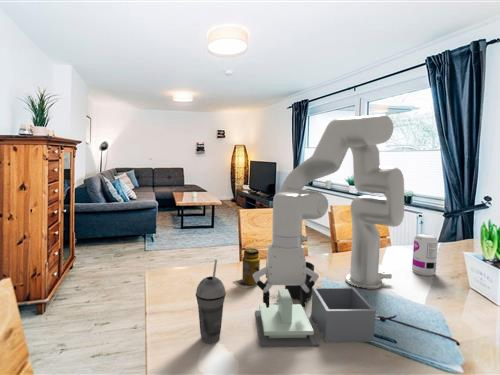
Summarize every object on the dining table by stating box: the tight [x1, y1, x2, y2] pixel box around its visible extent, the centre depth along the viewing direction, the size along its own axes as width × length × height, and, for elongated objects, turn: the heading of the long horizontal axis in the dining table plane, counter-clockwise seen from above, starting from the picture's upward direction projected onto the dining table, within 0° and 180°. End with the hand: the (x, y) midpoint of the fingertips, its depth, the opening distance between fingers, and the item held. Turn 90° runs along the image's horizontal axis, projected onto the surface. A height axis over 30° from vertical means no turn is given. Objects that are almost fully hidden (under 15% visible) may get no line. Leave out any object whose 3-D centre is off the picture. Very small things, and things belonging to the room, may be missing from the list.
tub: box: [310, 286, 376, 343], centre depth 85 cm, size 12×14×8 cm
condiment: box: [232, 247, 261, 290], centre depth 113 cm, size 7×8×12 cm
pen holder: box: [284, 261, 315, 301], centre depth 104 cm, size 9×9×10 cm
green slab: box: [258, 288, 315, 338], centre depth 84 cm, size 12×14×8 cm
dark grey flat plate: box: [255, 310, 320, 348], centre depth 84 cm, size 14×17×1 cm
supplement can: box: [411, 233, 439, 277], centre depth 127 cm, size 8×8×15 cm
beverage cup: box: [195, 259, 227, 345], centre depth 78 cm, size 7×7×20 cm
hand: (284, 305), depth 84 cm, fingers open, 9 cm apart
